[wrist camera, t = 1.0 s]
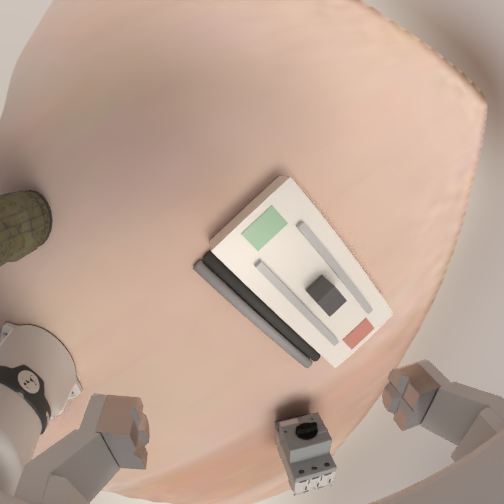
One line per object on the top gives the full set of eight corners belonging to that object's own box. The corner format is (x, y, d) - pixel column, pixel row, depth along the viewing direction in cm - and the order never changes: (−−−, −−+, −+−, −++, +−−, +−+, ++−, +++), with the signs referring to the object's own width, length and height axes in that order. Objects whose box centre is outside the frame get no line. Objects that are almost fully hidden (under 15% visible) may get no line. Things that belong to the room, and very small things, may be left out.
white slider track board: (324, 352, 49) (338, 371, 43) (209, 241, 40) (211, 253, 34) (378, 301, 48) (396, 316, 43) (279, 175, 39) (293, 177, 34)
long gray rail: (303, 364, 49) (306, 369, 47) (193, 266, 40) (193, 270, 39) (318, 351, 49) (321, 356, 47) (210, 249, 40) (211, 253, 39)
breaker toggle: (318, 303, 40) (329, 317, 36) (305, 290, 39) (316, 302, 35) (333, 288, 39) (347, 300, 36) (322, 274, 38) (334, 286, 35)
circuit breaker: (311, 393, 51) (341, 449, 37) (308, 435, 56) (331, 485, 41) (273, 402, 50) (296, 462, 36) (275, 443, 54) (294, 496, 40)
